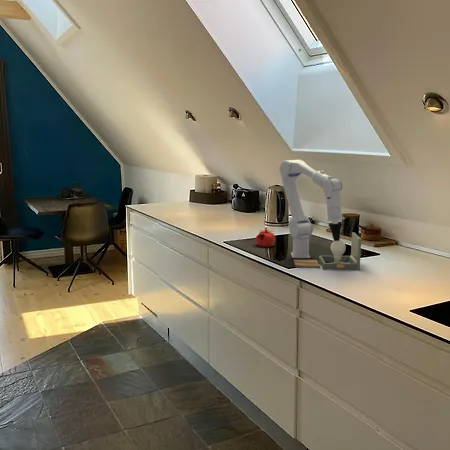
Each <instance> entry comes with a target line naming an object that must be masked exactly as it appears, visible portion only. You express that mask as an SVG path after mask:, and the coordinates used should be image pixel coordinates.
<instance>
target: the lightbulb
mask: <svg viewBox="0 0 450 450" xmlns="http://www.w3.org/2000/svg"><path fill="white" fill-rule="evenodd" d="M346 248H347V246H346V243H345V242H344V241H343V240H341V239H340V240H339V241H334V240H333V241H332V242H331V244H330V251H331V253H332V256H334V262H333V263H342V262H341V258H342V256H344V255H343V254H344V253H345V252H346Z"/></svg>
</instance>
